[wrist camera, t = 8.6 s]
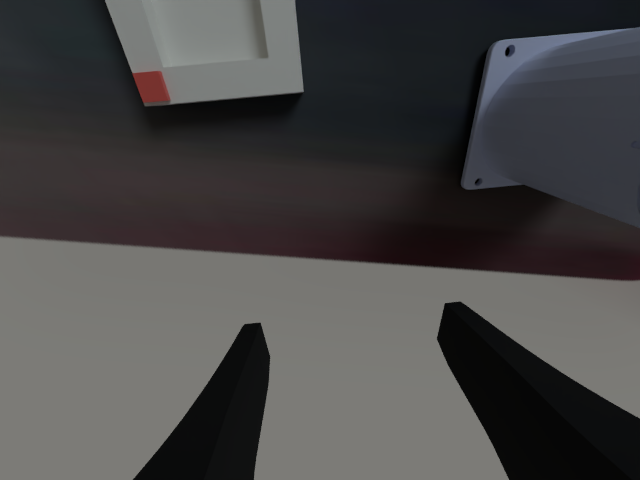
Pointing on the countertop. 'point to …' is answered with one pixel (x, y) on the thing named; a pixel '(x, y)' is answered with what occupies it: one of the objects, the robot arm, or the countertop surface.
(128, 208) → the countertop surface
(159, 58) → the white square recessed tray
